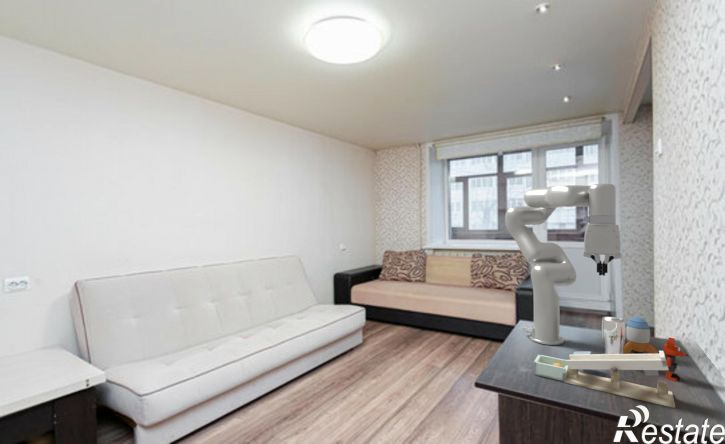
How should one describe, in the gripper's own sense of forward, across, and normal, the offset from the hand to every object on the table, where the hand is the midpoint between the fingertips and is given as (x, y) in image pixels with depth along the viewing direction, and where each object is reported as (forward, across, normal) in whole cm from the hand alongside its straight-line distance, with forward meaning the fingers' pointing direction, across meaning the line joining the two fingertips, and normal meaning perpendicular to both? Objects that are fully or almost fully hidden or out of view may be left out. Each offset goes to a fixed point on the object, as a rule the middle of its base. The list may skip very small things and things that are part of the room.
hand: (602, 274), depth 121 cm
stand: (+31, +4, -16) cm, 35 cm away
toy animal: (+31, +19, +2) cm, 37 cm away
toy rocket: (+31, +11, +18) cm, 38 cm away
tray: (+31, -13, -16) cm, 37 cm away
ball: (+29, -11, -16) cm, 35 cm away
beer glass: (+31, +3, +7) cm, 32 cm away
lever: (+26, +5, -12) cm, 29 cm away
